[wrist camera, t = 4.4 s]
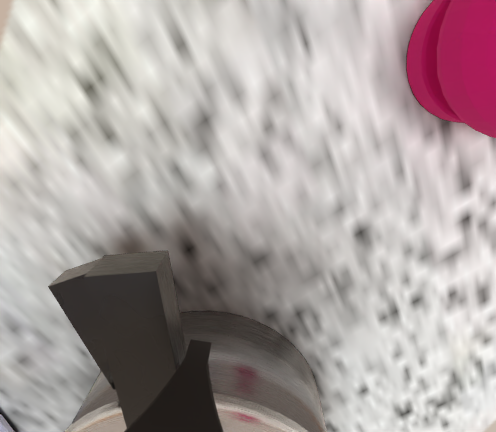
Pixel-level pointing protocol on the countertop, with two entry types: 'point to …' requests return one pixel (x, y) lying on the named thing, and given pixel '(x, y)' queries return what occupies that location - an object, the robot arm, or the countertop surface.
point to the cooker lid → (151, 346)
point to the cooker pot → (220, 359)
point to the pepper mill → (456, 62)
